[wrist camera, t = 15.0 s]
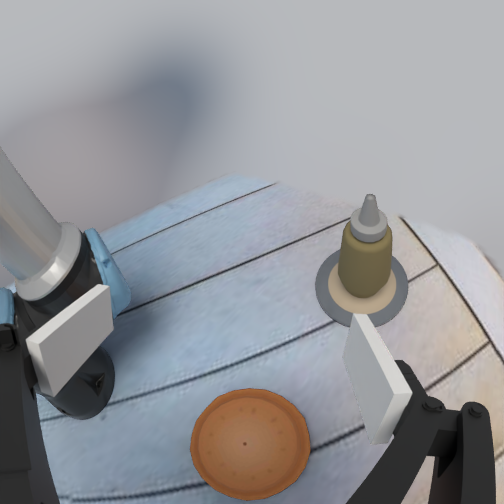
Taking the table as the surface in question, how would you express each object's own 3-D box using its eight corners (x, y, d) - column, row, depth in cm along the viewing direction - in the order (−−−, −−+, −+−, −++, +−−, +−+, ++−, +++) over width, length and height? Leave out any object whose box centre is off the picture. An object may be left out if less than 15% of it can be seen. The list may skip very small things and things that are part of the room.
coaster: (296, 286, 50) (296, 283, 50) (358, 234, 54) (358, 230, 53) (364, 348, 41) (364, 346, 41) (424, 283, 45) (425, 280, 44)
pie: (324, 405, 38) (323, 399, 34) (293, 508, 30) (288, 515, 26) (219, 382, 43) (208, 373, 40) (186, 475, 35) (171, 476, 31)
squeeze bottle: (355, 253, 50) (357, 167, 37) (396, 276, 46) (415, 191, 32) (327, 288, 48) (321, 204, 34) (369, 315, 43) (385, 235, 30)
